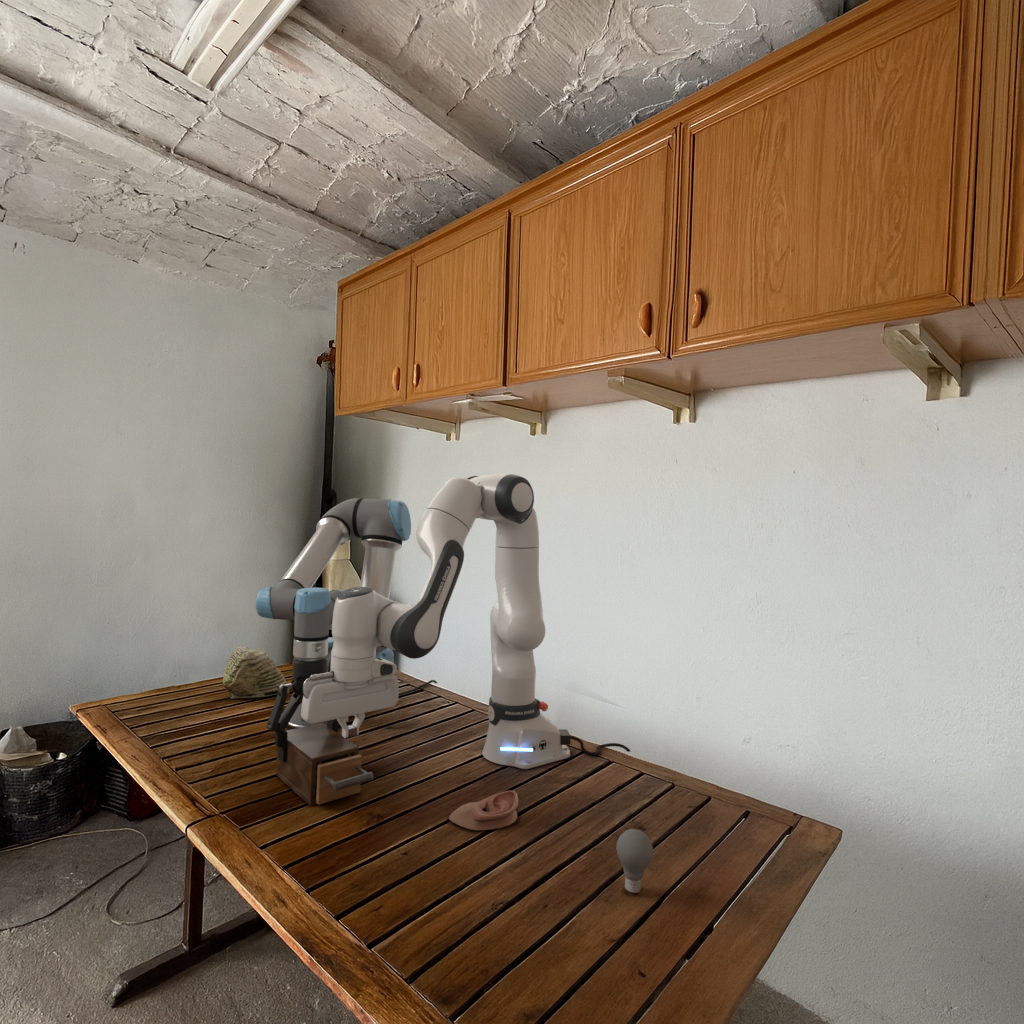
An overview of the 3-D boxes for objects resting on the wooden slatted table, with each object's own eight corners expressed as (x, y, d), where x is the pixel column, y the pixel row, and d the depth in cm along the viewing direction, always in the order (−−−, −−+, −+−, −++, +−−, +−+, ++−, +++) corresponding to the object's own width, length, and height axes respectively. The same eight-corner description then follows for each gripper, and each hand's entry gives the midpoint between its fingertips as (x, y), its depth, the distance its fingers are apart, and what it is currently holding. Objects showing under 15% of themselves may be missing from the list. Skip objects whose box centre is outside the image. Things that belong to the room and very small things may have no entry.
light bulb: (610, 879, 108) (613, 822, 108) (644, 879, 109) (647, 822, 109) (619, 902, 102) (622, 840, 102) (655, 901, 103) (658, 840, 103)
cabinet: (357, 791, 137) (358, 746, 137) (310, 806, 130) (312, 758, 129) (320, 763, 150) (322, 722, 150) (276, 775, 143) (277, 732, 143)
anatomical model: (444, 806, 124) (461, 780, 135) (443, 826, 124) (460, 799, 135) (511, 815, 121) (522, 789, 132) (510, 836, 121) (521, 808, 132)
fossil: (218, 695, 195) (220, 647, 195) (278, 685, 208) (279, 640, 207) (228, 703, 189) (230, 653, 188) (289, 692, 201) (290, 645, 201)
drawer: (375, 803, 130) (376, 765, 130) (332, 817, 124) (334, 777, 124) (325, 765, 147) (326, 732, 147) (285, 776, 140) (287, 741, 140)
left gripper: (265, 668, 132) (261, 772, 133) (364, 653, 148) (361, 747, 148) (252, 660, 138) (248, 760, 138) (349, 647, 154) (345, 737, 154)
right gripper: (310, 680, 119) (308, 752, 119) (403, 664, 133) (401, 729, 133) (296, 672, 124) (294, 742, 124) (388, 658, 138) (385, 721, 138)
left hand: (306, 753), depth 143 cm, fingers closed on cabinet, 11 cm apart
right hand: (350, 735), depth 129 cm, fingers closed
